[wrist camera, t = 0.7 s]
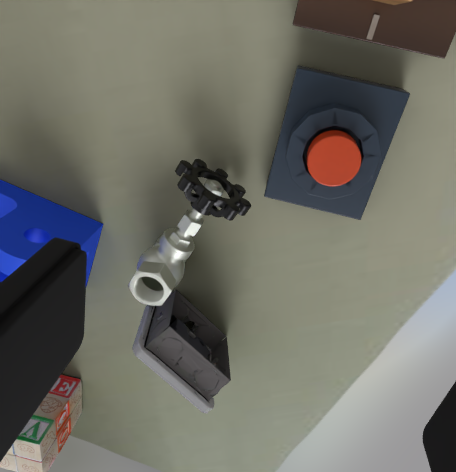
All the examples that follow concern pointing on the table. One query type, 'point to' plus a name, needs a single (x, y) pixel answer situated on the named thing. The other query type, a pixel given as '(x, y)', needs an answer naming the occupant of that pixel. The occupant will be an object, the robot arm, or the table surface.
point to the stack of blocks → (46, 428)
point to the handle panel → (384, 22)
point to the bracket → (39, 228)
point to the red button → (333, 158)
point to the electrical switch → (184, 350)
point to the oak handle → (393, 1)
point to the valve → (185, 231)
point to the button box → (333, 118)
